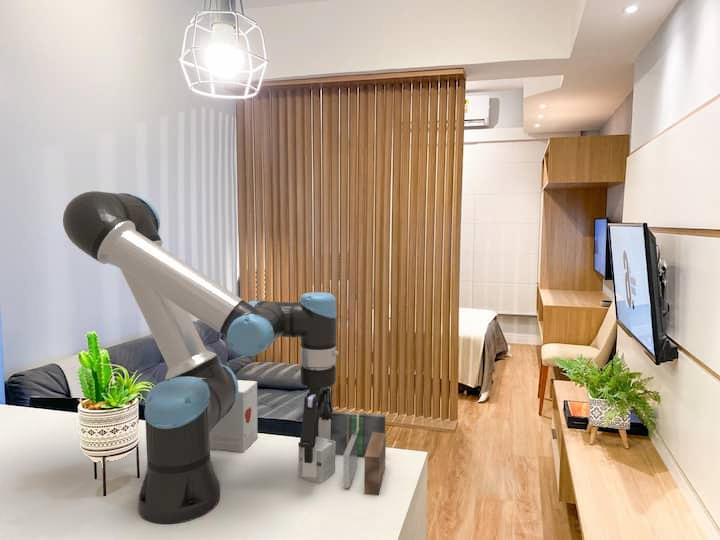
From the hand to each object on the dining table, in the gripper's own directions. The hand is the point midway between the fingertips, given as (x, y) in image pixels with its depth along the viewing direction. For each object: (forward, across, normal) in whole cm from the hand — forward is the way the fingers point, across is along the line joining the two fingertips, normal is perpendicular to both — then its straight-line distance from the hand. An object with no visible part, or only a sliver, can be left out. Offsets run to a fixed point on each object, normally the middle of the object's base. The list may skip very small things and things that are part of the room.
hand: (317, 460), depth 112 cm
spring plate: (+3, +2, -7) cm, 8 cm away
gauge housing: (+3, +3, -7) cm, 9 cm away
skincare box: (+4, 0, 0) cm, 4 cm away
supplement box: (+4, +12, +24) cm, 27 cm away
